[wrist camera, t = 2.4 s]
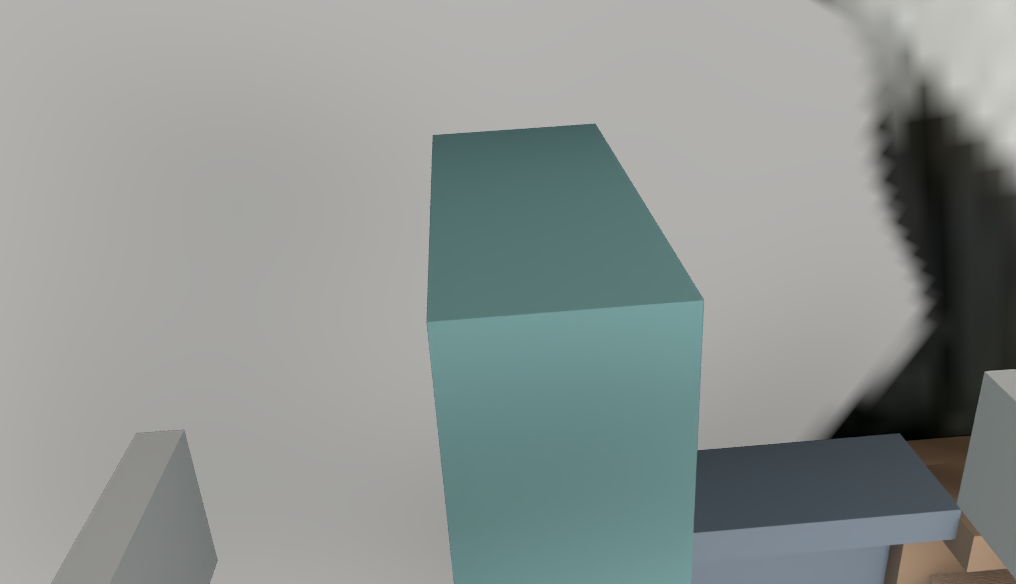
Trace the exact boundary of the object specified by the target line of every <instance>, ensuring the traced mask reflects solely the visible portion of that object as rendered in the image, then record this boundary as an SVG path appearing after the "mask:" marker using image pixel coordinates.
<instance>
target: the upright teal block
mask: <svg viewBox="0 0 1016 584" xmlns="http://www.w3.org/2000/svg"><path fill="white" fill-rule="evenodd" d="M428 268H429V269H428V298H427V330H428V339H429V349H430V359H431V368H432V377H433V387H434V397H435V407H436V416H437V426H438V435H439V445H440V453H441V464H442V473H443V483H444V492H445V502H446V511H447V521H448V531H449V541H450V550H451V560H452V569H453V579H454V584H691V573H692V551H693V529H694V508H695V486H696V465H697V443H698V422H699V400H700V378H701V356H702V355H701V354H702V334H703V313H704V299H703V298H702V296H701V294H700V293H699V291H698V290H697V288H696V286H695V285H694V283H693V282H692V280H691V278H690V276H689V275H688V273H687V272H686V270H685V269H684V267H683V265H682V264H681V262H680V260H679V259H678V257H677V255H676V254H675V252H674V251H673V249H672V247H671V246H670V244H669V242H668V241H667V239H666V238H665V236H664V234H663V233H662V231H661V229H660V228H659V226H658V225H657V223H656V222H655V220H654V218H653V216H652V215H651V213H650V212H649V210H648V208H647V207H646V205H645V203H644V202H643V200H642V199H641V197H640V195H639V194H638V192H637V190H636V189H635V187H634V186H633V184H632V182H631V181H630V179H629V178H628V176H627V175H626V173H625V171H624V169H623V168H622V166H621V164H620V163H619V161H618V160H617V158H616V156H615V155H614V153H613V152H612V150H611V148H610V147H609V145H608V144H607V142H606V140H605V138H604V137H603V135H602V134H601V132H600V131H599V129H598V127H597V126H596V124H584V125H571V126H556V127H543V128H529V129H514V130H499V131H485V132H471V133H457V134H442V135H433V147H432V177H431V205H430V236H429V267H428Z"/></svg>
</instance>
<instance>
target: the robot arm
mask: <svg viewBox="0 0 1016 584" xmlns="http://www.w3.org/2000/svg"><path fill="white" fill-rule="evenodd" d="M957 505H958V506H959V508H960V509H961V510H962V512H963V513H964V514H965V515H966V517H967V518H968V519H969V521H970V522H971V523H972V524H973V526H974V527H975V528H976V530H977V531H978V532H979V533H980V535H981V536H982V537H983V539H984V540H985V541H986V542H987V544H988V545H989V546H990V548H991V549H992V550H993V551H994V553H995V554H996V555H997V557H998V558H999V559H1000V560H1001V562H1002V563H1003V564H1004V566H1005V567H1006V568H1007V569H1008V571H1009V572H1010V573H1011V575H1012V576H1013V577H1014V578H1015V580H1016V369H1011V370H998V371H985V373H984V378H983V382H982V387H981V392H980V397H979V401H978V406H977V411H976V415H975V420H974V425H973V430H972V434H971V439H970V444H969V448H968V453H967V458H966V463H965V467H964V472H963V477H962V481H961V486H960V491H959V496H958V500H957ZM216 563H217V557H216V553H215V549H214V545H213V541H212V538H211V533H210V529H209V525H208V521H207V518H206V513H205V510H204V506H203V502H202V498H201V494H200V490H199V486H198V482H197V478H196V474H195V471H194V467H193V463H192V459H191V455H190V451H189V448H188V443H187V440H186V435H185V432H184V430H173V431H160V432H145V433H136V435H135V436H134V438H133V440H132V442H131V443H130V445H129V447H128V449H127V451H126V452H125V454H124V456H123V458H122V459H121V461H120V463H119V465H118V466H117V468H116V470H115V472H114V474H113V475H112V477H111V479H110V481H109V482H108V484H107V486H106V488H105V489H104V491H103V493H102V495H101V497H100V498H99V500H98V502H97V504H96V505H95V507H94V509H93V511H92V513H91V514H90V516H89V518H88V520H87V521H86V523H85V525H84V527H83V528H82V530H81V532H80V534H79V536H78V537H77V539H76V541H75V543H74V544H73V546H72V548H71V550H70V552H69V553H68V555H67V557H66V558H65V560H64V562H63V564H62V566H61V568H60V569H59V571H58V573H57V575H56V576H55V578H54V580H53V582H52V584H210V581H211V578H212V575H213V572H214V569H215V566H216Z"/></svg>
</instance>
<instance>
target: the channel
mask: <svg viewBox="0 0 1016 584" xmlns="http://www.w3.org/2000/svg"><path fill="white" fill-rule="evenodd" d="M970 439H971V436H959V437H948V438H936V439H924V440H912V441H906V442H907V443H908V444H909V446H910V447H911V448H912V449H913V450H914V452H915V453H916V454H917V455H918V457H919V458H920V459H921V460H922V461H923V463H924V464H925V465H926V466H927V468H928V469H929V470H930V471H931V472H932V474H933V475H934V476H935V477H936V479H937V480H938V481H939V482H940V483H941V485H942V486H943V487H944V488H945V490H946V491H947V492H948V493H949V494H950V496H951V497H952V498H953V499H954V501H955V502H956V503H957V500H958V496H959V491H960V486H961V481H962V477H963V472H964V467H965V463H966V458H967V453H968V448H969V444H970ZM997 569H1007V568H1006V567H1005V566H1004V564H1003V563H1002V562H1001V560H1000V559H999V558H998V557H997V555H996V554H995V553H994V551H993V550H992V549H991V548H990V546H989V545H988V544H987V542H986V541H985V540H984V539H983V537H982V536H981V535H980V533H979V532H978V531H977V530H976V528H975V527H974V526H973V524H972V523H971V522H970V521H969V519H968V518H967V517H966V515H965V514H964V513H963V512H962V511H961V515H960V520H959V525H958V530H957V534H956V539H953V540H942V541H931V542H920V543H909V544H897V545H890V549H889V555H888V561H887V567H886V573H885V579H884V584H928V580H929V575H932V574H943V573H954V572H965V571H966V572H975V571H986V570H997Z"/></svg>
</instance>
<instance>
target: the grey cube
mask: <svg viewBox="0 0 1016 584" xmlns="http://www.w3.org/2000/svg"><path fill="white" fill-rule="evenodd" d="M928 584H1016V580H1015V578H1014V577H1013V576H1012V575H1011V573H1010V572H1009V571H1008V569H997V570H986V571H975V572H966V571H965V572H954V573H943V574H932V575H929V580H928Z"/></svg>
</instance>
